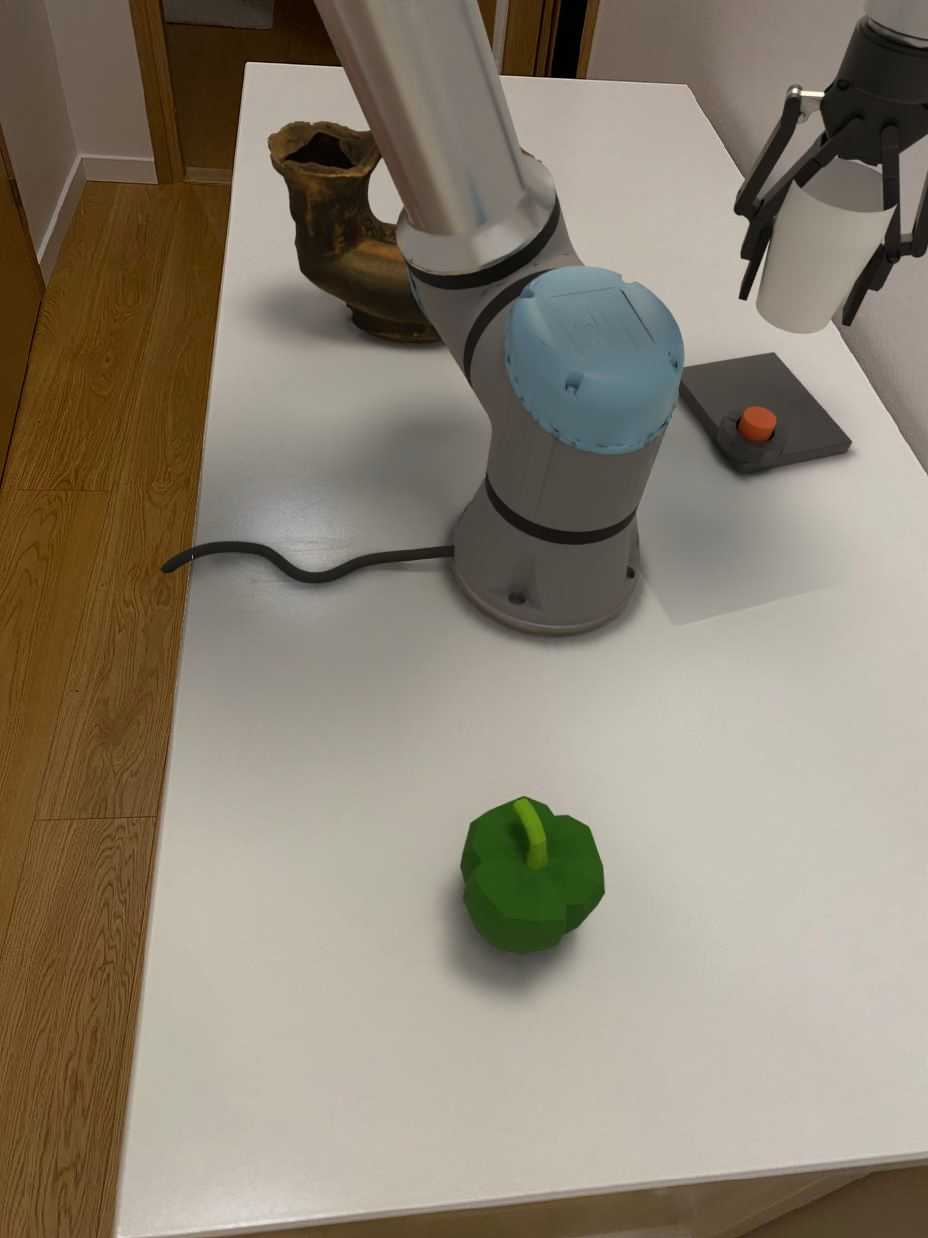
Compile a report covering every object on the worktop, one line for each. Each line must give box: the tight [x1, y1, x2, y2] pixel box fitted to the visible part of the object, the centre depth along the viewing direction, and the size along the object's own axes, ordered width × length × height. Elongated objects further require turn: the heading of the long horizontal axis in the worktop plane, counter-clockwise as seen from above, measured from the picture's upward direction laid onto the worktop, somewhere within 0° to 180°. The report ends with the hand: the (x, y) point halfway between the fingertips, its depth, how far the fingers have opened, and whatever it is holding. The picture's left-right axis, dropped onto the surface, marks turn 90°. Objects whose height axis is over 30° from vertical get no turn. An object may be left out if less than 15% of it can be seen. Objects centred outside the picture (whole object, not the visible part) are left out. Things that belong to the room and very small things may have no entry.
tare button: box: [738, 407, 777, 442], centre depth 86 cm, size 3×3×2 cm
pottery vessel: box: [266, 120, 543, 345], centre depth 89 cm, size 25×11×20 cm, turn 94°
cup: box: [755, 157, 897, 335], centre depth 81 cm, size 9×9×12 cm
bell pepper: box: [459, 795, 606, 956], centre depth 56 cm, size 8×8×10 cm
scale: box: [679, 351, 853, 475], centre depth 91 cm, size 13×14×3 cm
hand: (794, 304), depth 85 cm, fingers closed on cup, 9 cm apart
